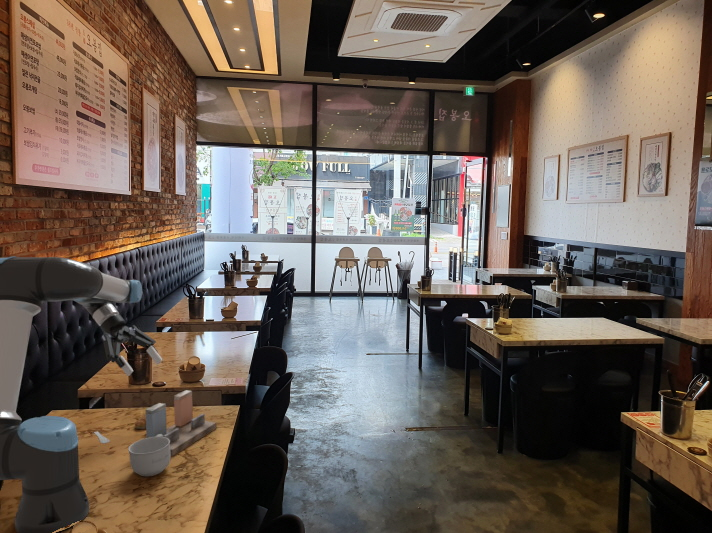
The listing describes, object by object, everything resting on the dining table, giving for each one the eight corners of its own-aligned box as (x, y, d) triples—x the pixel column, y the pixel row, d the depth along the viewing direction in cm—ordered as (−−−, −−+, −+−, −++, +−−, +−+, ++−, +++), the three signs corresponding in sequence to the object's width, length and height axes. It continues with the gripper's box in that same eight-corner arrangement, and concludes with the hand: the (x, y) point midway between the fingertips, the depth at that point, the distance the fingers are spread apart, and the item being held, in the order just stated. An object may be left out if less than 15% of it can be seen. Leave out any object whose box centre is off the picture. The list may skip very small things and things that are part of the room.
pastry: (144, 432, 175) (144, 421, 175) (129, 429, 178) (128, 418, 177) (165, 421, 184) (164, 411, 183) (150, 419, 186) (149, 408, 186)
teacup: (157, 482, 142) (156, 454, 141) (120, 478, 144) (119, 450, 143) (184, 459, 155) (183, 432, 155) (150, 455, 158) (149, 429, 157)
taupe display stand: (172, 456, 157) (172, 440, 157) (140, 450, 161) (139, 434, 161) (216, 428, 178) (216, 413, 177) (186, 423, 182) (186, 409, 181)
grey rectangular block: (153, 442, 161) (152, 410, 160) (146, 441, 162) (145, 409, 161) (166, 434, 167) (165, 404, 166) (160, 433, 168) (159, 403, 167)
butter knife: (101, 444, 165) (111, 441, 167) (79, 421, 183) (88, 419, 185) (101, 445, 165) (111, 442, 167) (79, 422, 183) (88, 420, 185)
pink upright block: (181, 426, 173) (180, 396, 172) (174, 425, 174) (173, 395, 173) (192, 419, 179) (192, 391, 178) (186, 418, 180) (185, 390, 179)
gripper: (131, 320, 197) (165, 364, 193) (73, 335, 174) (111, 385, 170) (142, 307, 194) (176, 351, 191) (85, 320, 171) (123, 371, 167)
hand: (145, 367), depth 180 cm, fingers open, 13 cm apart
